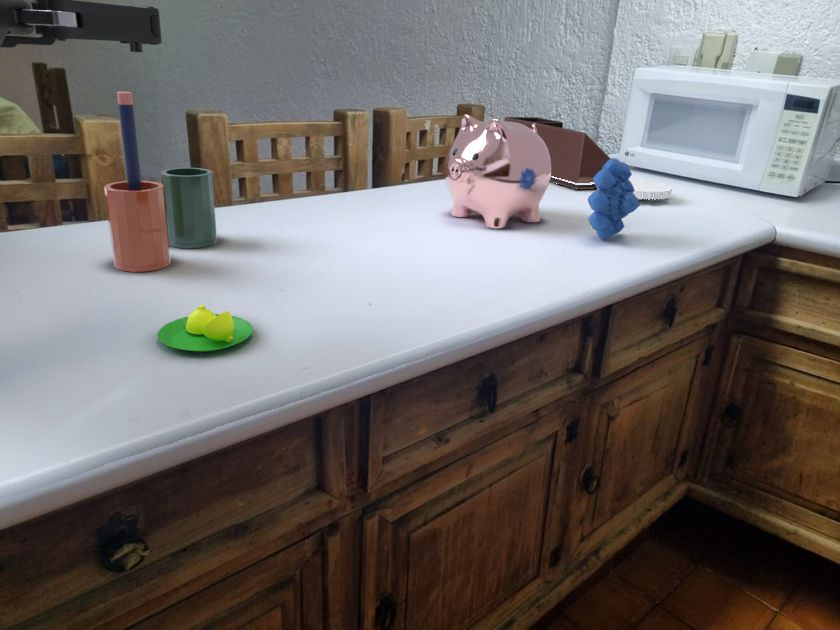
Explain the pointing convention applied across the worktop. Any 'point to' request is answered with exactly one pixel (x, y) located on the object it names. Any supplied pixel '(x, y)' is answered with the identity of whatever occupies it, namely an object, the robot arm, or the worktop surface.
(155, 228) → the terracotta cup
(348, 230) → the worktop surface
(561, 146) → the desk organizer
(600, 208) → the blue lumpy block
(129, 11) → the robot arm
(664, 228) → the worktop surface
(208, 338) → the lemons on green plate
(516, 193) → the piggy bank
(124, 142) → the pencil
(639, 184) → the plastic lid
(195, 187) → the green cup
